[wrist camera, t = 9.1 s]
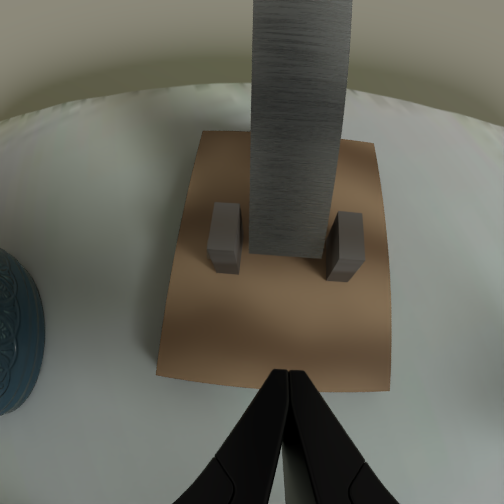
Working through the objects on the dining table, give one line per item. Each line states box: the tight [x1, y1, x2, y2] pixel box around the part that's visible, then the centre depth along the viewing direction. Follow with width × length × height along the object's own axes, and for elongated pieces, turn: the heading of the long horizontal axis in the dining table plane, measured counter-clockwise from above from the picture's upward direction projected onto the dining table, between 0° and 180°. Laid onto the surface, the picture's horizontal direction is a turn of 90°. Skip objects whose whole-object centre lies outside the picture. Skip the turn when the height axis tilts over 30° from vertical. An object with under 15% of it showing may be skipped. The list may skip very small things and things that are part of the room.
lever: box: [249, 0, 352, 259], centre depth 11 cm, size 2×5×16 cm
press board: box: [156, 131, 391, 392], centre depth 16 cm, size 16×12×7 cm
